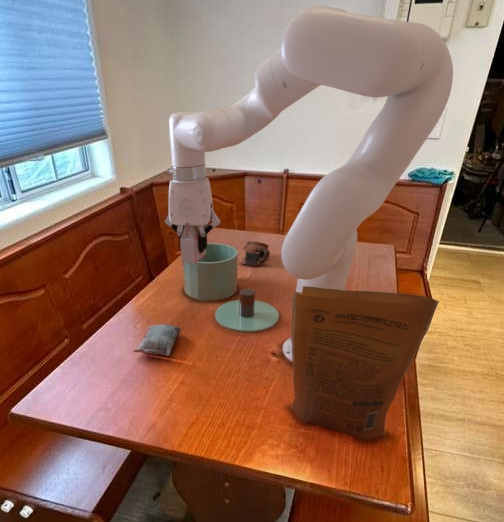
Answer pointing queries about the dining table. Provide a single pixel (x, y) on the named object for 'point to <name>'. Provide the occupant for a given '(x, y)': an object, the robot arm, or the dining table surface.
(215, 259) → the pot
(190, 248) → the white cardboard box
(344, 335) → the pancake mix bag
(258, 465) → the dining table surface
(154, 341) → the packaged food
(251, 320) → the lid
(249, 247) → the pottery mug
